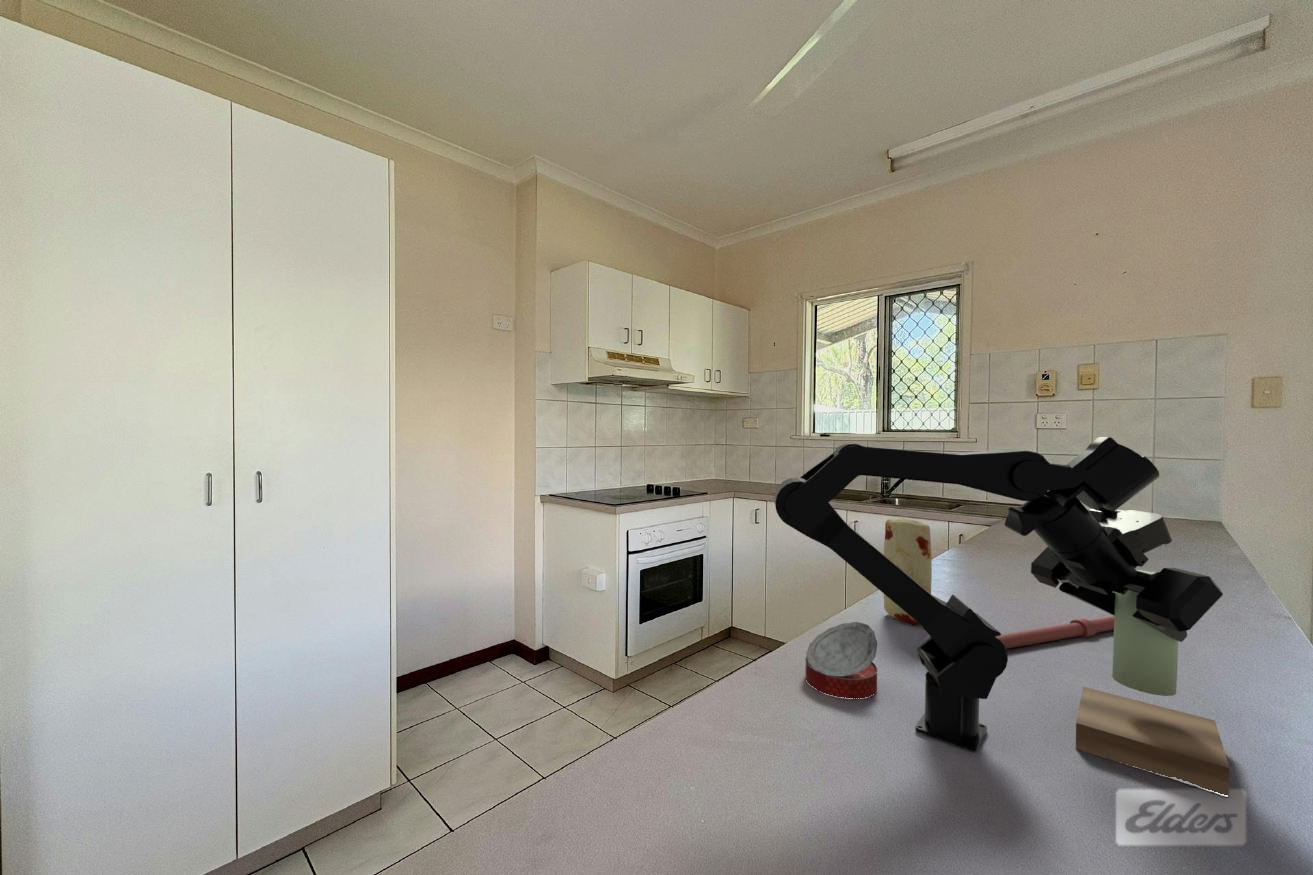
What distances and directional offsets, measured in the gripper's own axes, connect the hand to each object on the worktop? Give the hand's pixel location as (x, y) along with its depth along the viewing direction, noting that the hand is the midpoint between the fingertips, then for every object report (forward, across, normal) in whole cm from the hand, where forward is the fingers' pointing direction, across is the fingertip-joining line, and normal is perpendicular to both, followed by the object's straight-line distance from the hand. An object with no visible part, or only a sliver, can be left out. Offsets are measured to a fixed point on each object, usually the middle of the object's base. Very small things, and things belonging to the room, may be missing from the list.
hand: (1156, 628), depth 63 cm
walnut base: (+8, -2, +11) cm, 14 cm away
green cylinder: (+4, 0, +6) cm, 7 cm away
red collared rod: (+21, +30, -2) cm, 37 cm away
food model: (+4, +40, +15) cm, 43 cm away
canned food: (-12, +16, +32) cm, 38 cm away
